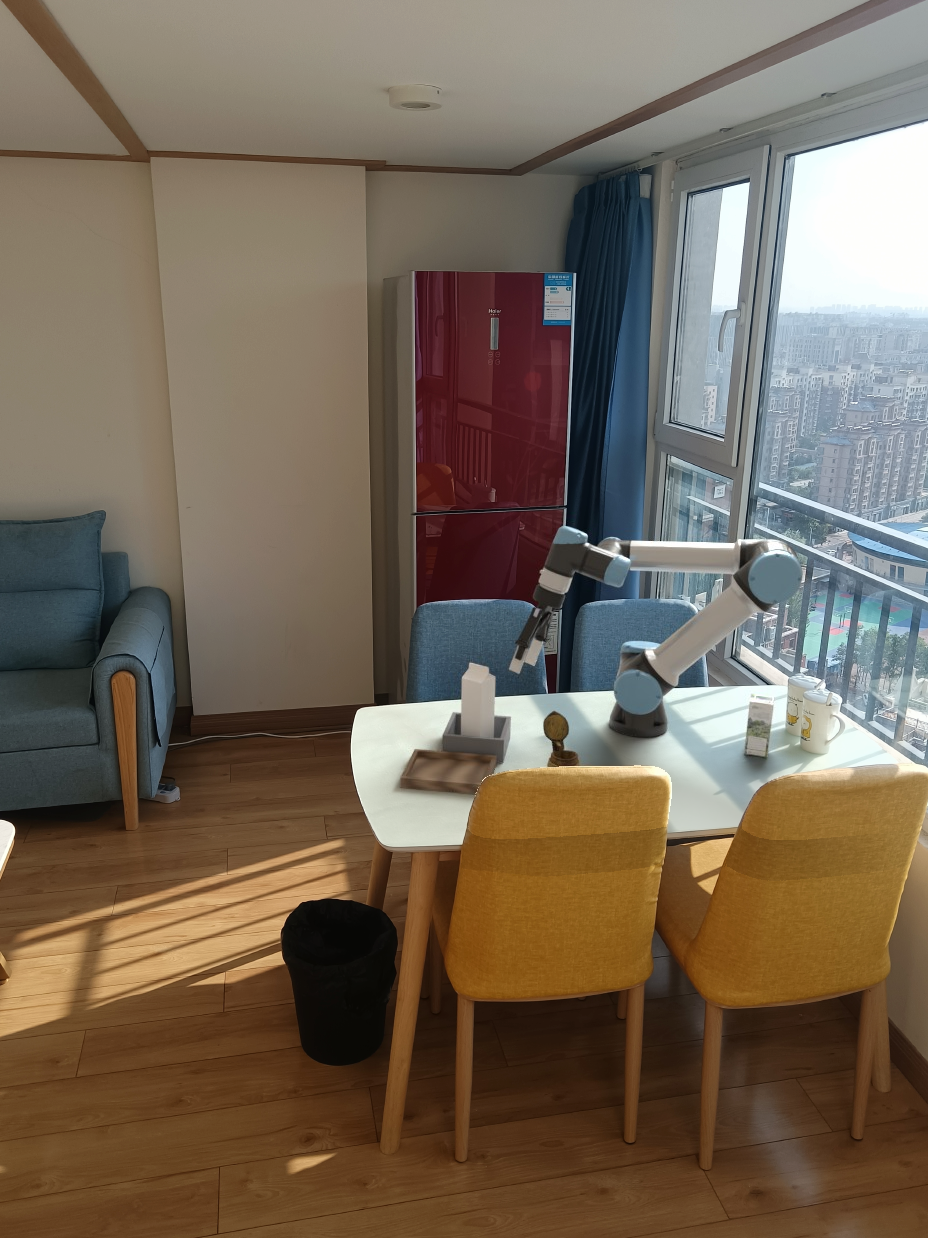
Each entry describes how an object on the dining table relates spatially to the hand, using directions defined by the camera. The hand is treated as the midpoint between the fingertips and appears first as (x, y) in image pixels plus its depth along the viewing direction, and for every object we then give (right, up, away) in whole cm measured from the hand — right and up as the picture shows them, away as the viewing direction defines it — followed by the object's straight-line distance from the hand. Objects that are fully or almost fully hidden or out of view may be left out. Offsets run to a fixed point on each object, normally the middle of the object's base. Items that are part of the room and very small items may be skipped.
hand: (521, 667), depth 243 cm
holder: (-11, -20, +1) cm, 23 cm away
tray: (-18, -25, -15) cm, 34 cm away
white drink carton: (+59, -21, +1) cm, 62 cm away
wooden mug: (+7, -28, -23) cm, 37 cm away
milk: (-11, -20, +1) cm, 23 cm away
